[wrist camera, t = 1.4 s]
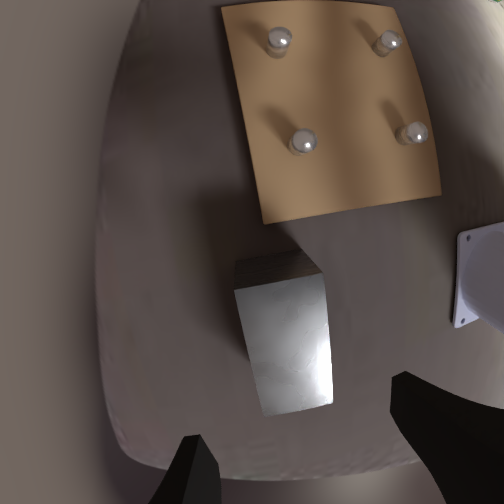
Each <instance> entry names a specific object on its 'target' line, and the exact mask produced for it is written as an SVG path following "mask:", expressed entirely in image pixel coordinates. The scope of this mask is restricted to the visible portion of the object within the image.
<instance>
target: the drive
mask: <svg viewBox="0 0 504 504" xmlns="http://www.w3.org/2000/svg"><path fill="white" fill-rule="evenodd" d="M234 293H235V298H236V302H237V307H238V311H239V316H240V320H241V324H242V329H243V333H244V337H245V342H246V346H247V350H248V354H249V359H250V363H251V367H252V371H253V375H254V379H255V383H256V387H257V392H258V396H259V400H260V404H261V408H262V412H263V415H264V417H267V416H273V415H279V414H284V413H289V412H294V411H299V410H304V409H309V408H313V407H317V406H322V405H326V404H330V403H333V391H332V371H331V354H330V340H329V328H328V316H327V305H326V295H325V286H324V277H323V272H322V271H321V270H320V269H319V268H318V267H317V265H316V264H315V263H314V262H313V261H312V260H311V259H310V258H309V257H308V255H307V254H306V253H305V252H304V251H303V250H302V249H298V250H293V251H288V252H283V253H277V254H272V255H267V256H261V257H256V258H251V259H246V260H240V261H236V267H235V280H234Z"/></svg>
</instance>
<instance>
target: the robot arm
mask: <svg viewBox="0 0 504 504" xmlns="http://www.w3.org/2000/svg"><path fill="white" fill-rule="evenodd" d="M467 236H468V238H467ZM478 318H481V319H482V320H484V321H485V322H487V323H488V324H490V325H491V326H493V327H494V328H496V329H497V330H499V331H500V332H501V333H503V334H504V222H500V223H496V224H492V225H488V226H484V227H480V228H475V229H471V230H467V231H463V232H460V233H459V235H458V238H457V277H456V293H455V304H454V314H453V322H452V325H453V326H454V327H455V328H459V327H461V326H463V325H465V324H468V323H470V322H472V321H474V320H476V319H478ZM461 320H462V321H461ZM390 413H391V415H392V417H393V419H394V421H395V423H396V425H397V426H398V428H399V430H400V432H401V433H402V434H403V436H404V437H405V439H406V440H407V441H408V443H409V444H410V445H411V447H412V448H413V449H414V451H415V452H416V453H417V455H418V456H419V457H420V459H421V460H422V461H423V463H424V464H425V465H426V467H427V468H428V470H429V471H430V473H431V474H432V476H433V478H434V480H435V482H436V483H437V485H438V487H439V489H440V491H441V493H442V495H443V497H444V499H445V501H446V504H504V409H499V408H495V407H491V406H486V405H483V404H479V403H476V402H473V401H470V400H467V399H465V398H462V397H459V396H457V395H454V394H452V393H450V392H447V391H445V390H443V389H441V388H439V387H437V386H435V385H432V384H430V383H428V382H426V381H424V380H422V379H421V378H419V377H417V376H415V375H413V374H411V373H409V372H407V371H404V372H402V373H400V374H398V375H396V376H393V377H392V387H391V404H390ZM148 504H221V481H220V473H219V466H218V463H217V461H216V460H215V458H214V456H213V455H212V453H211V452H210V450H209V448H208V447H207V445H206V444H205V442H204V440H203V439H202V437H201V435H200V434H199V435H192V436H185V437H184V438H183V439H182V441H181V443H180V446H179V448H178V450H177V452H176V454H175V456H174V458H173V461H172V463H171V465H170V467H169V469H168V471H167V472H166V474H165V476H164V478H163V480H162V482H161V484H160V485H159V487H158V489H157V490H156V492H155V494H154V495H153V497H152V499H151V500H150V502H149V503H148Z"/></svg>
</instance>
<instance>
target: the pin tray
mask: <svg viewBox="0 0 504 504" xmlns="http://www.w3.org/2000/svg"><path fill="white" fill-rule="evenodd" d="M221 12H222V18H223V22H224V27H225V32H226V36H227V41H228V46H229V50H230V55H231V60H232V65H233V70H234V74H235V79H236V84H237V89H238V94H239V99H240V104H241V109H242V114H243V119H244V124H245V129H246V134H247V139H248V145H249V150H250V155H251V160H252V165H253V171H254V176H255V181H256V187H257V192H258V197H259V203H260V208H261V214H262V219H263V223H264V225H265V224H270V223H276V222H281V221H287V220H292V219H298V218H304V217H309V216H315V215H321V214H327V213H332V212H338V211H344V210H350V209H356V208H362V207H369V206H375V205H381V204H387V203H394V202H400V201H407V200H413V199H420V198H427V197H434V196H441V195H442V192H441V183H440V174H439V166H438V159H437V153H436V147H435V141H434V136H433V131H432V126H431V121H430V116H429V112H428V108H427V104H426V100H425V96H424V92H423V88H422V85H421V81H420V78H419V74H418V71H417V68H416V65H415V62H414V59H413V56H412V53H411V50H410V47H409V45H408V42H407V39H406V37H405V34H404V31H403V29H402V26H401V24H400V22H399V19H398V17H397V15H396V12H395V10H394V8H392V7H386V6H379V5H372V4H364V3H354V2H342V1H322V0H292V1H271V2H259V3H249V4H241V5H233V6H226V7H221Z"/></svg>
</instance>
